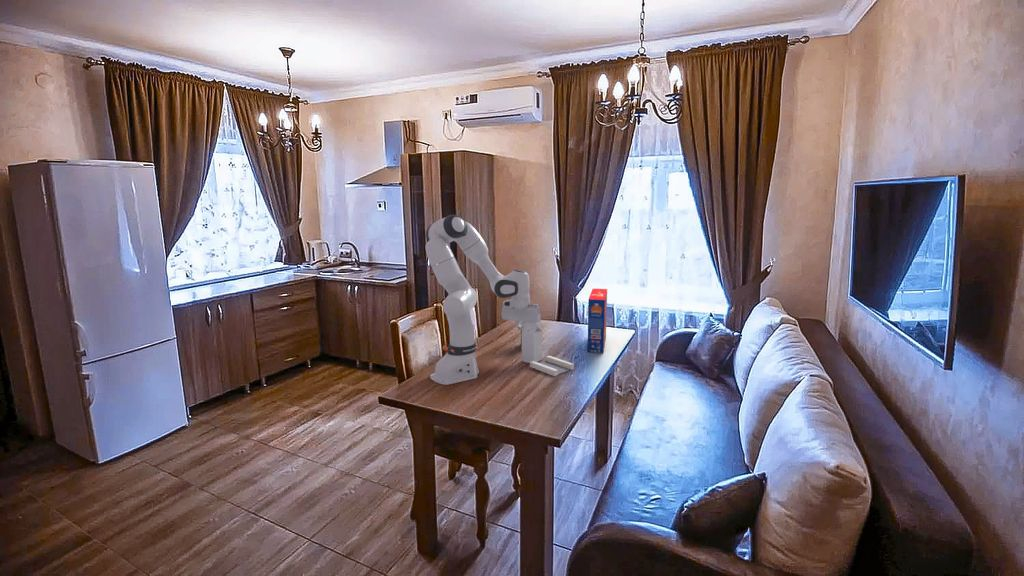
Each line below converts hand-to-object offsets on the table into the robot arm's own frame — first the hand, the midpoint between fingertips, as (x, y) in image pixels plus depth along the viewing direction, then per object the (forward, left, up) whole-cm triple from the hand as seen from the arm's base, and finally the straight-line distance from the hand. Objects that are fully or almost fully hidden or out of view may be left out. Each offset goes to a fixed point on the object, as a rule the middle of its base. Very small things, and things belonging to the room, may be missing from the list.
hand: (521, 329), depth 238 cm
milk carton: (0, -7, -14) cm, 16 cm away
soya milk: (+16, +11, -14) cm, 24 cm away
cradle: (0, -21, -14) cm, 25 cm away
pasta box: (+43, -14, -14) cm, 47 cm away
